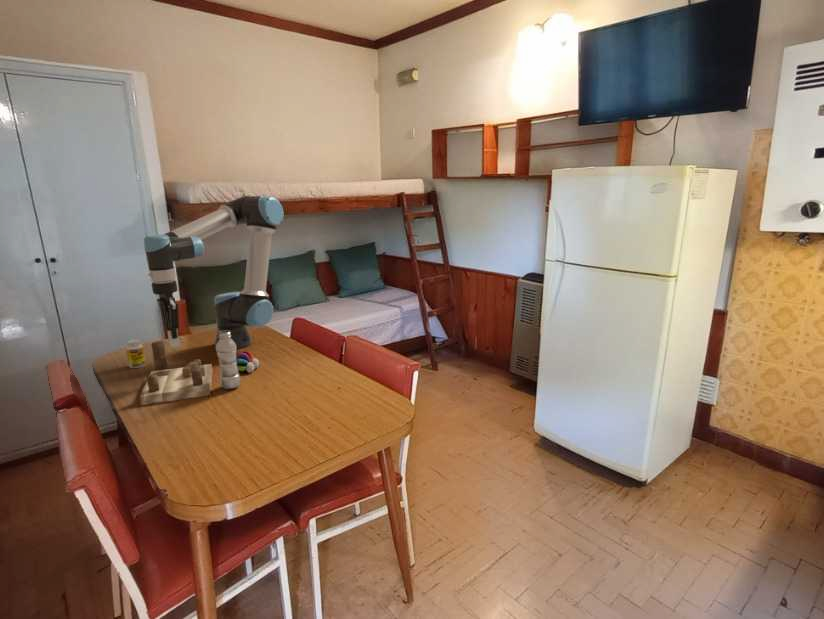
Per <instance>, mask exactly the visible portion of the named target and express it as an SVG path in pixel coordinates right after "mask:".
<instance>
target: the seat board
mask: <svg viewBox="0 0 824 619" xmlns="http://www.w3.org/2000/svg"><path fill="white" fill-rule="evenodd" d="M184 367H185V366H184ZM184 367H177V368H176V367H175V368H168V370H160V371H156V370H153V371H150V373H149V375H147V376H146V382H145V385H144V387H143V389H142V391H141V394H140V396H139V400H140V404H141V406H145V405H152V403H153V404H158V403H165V402H170V401H171V402H172V401H178V400H179V401H180V400H185V399H191V398H199V397H205V396H210V395H211V389H212V380H213V366H212V363H209V364H207V363H206V364H201V365H200V366H199V369H193V370H191V374H192V376H190V377H183V372H182V368H184Z"/></svg>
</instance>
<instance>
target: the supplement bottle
mask: <svg viewBox="0 0 824 619" xmlns="http://www.w3.org/2000/svg"><path fill="white" fill-rule="evenodd" d="M125 349H126V357H127V361H128V362H127V363H128V366H129V368H131V369H137V368H142V367H144V366H145V365H146V358H145V353H144V346H143V344H141V342H140V339H131V340H128V341H127V346H126V347H125Z"/></svg>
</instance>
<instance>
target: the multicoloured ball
mask: <svg viewBox="0 0 824 619" xmlns="http://www.w3.org/2000/svg"><path fill="white" fill-rule="evenodd" d="M236 362H237V368H238V372H242V371H243V372H245V371H246V372H247V373H248V374H251V373H253V371H254V370H255V369H257V368H258V367H260V366H259V365H260V361H259V359H258V358H255V355H253V354H252V353H251V352H250V351H248V350H244V351H242V352H240V353H239V354H238V355H237V356H236Z"/></svg>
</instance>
